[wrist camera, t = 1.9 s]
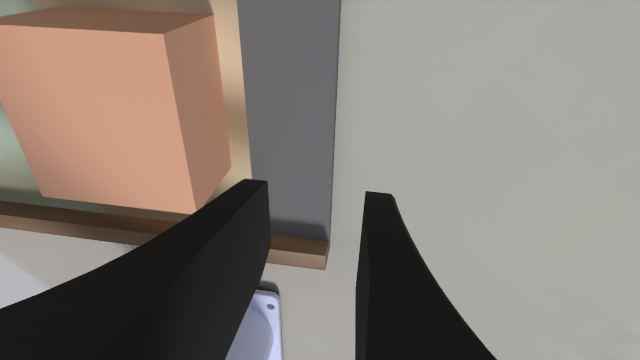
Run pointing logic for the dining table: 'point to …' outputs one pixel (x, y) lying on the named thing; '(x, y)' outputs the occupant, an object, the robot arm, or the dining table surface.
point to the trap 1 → (292, 107)
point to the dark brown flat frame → (128, 222)
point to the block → (117, 105)
